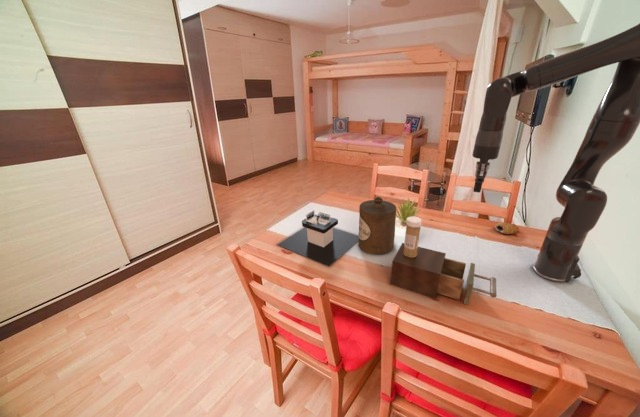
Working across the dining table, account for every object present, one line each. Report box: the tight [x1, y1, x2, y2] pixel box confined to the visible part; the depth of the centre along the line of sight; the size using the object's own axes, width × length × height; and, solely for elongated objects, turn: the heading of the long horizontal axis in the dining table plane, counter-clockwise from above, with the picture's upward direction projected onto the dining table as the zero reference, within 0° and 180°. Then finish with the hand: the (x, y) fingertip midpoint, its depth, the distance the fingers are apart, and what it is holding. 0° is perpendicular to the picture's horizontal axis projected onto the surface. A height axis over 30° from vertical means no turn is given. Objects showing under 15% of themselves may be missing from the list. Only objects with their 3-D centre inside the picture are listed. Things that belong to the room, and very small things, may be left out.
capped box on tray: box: [277, 209, 359, 267], centre depth 114 cm, size 28×26×13 cm
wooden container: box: [358, 196, 397, 255], centre depth 108 cm, size 15×15×22 cm
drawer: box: [437, 257, 497, 306], centre depth 83 cm, size 20×11×8 cm, turn 60°
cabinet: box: [389, 242, 447, 299], centre depth 89 cm, size 15×13×10 cm
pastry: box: [494, 221, 520, 235], centre depth 118 cm, size 9×7×4 cm
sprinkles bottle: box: [403, 215, 422, 258], centre depth 86 cm, size 5×5×13 cm
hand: (476, 191), depth 95 cm, fingers closed
